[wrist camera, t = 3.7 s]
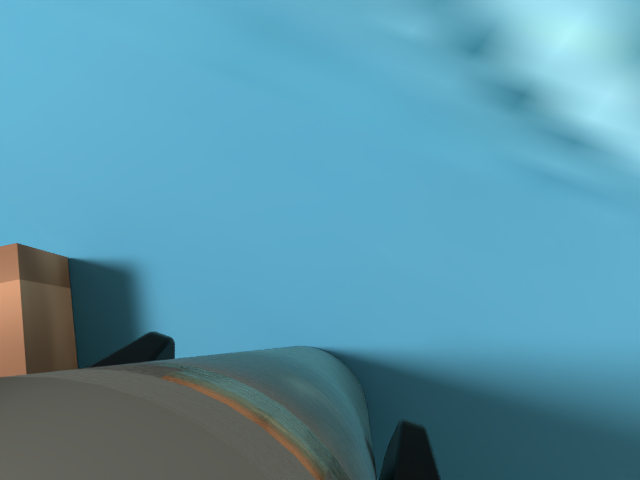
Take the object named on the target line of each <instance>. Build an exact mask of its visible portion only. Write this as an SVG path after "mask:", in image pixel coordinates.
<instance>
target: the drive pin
mask: <svg viewBox="0 0 640 480" xmlns="http://www.w3.org/2000/svg"><path fill="white" fill-rule="evenodd" d="M0 480H377V476H376V469H375V461H374V454H373V446H372V439H371V432H370V424H369V417H368V409H367V403H366V399H365V395H364V392H363V390H362V388H361V385H360V383H359V382H358V380H357V378H356V377H355V375H354V374H353V373H352V371H351V370H350V369H349V368H348V367H347V366H346V365H345V364H344V363H343V362H342V361H340V360H339V359H338V358H336V357H335V356H333V355H331V354H330V353H328V352H325V351H323V350H320V349H317V348H313V347H306V346H293V347H283V348H274V349H264V350H255V351H245V352H236V353H226V354H217V355H207V356H197V357H188V358H178V359H169V360H159V361H150V362H140V363H131V364H121V365H111V366H102V367H92V368H83V369H73V370H64V371H54V372H45V373H35V374H26V375H16V376H6V377H0Z"/></svg>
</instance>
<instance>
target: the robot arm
mask: <svg viewBox="0 0 640 480" xmlns="http://www.w3.org/2000/svg"><path fill="white" fill-rule="evenodd" d="M169 359H175V343H174V340H173V338H171V337H169V336H166V335H163V334H160V333H157V332H150V333H147V334H145V335H143V336H142V337H140V338H138V339H136V340H134V341H133V342H131V343H129V344H127V345H125V346H124V347H122V348H120V349H118V350H116V351H115V352H113V353H111V354H109V355H107V356H106V357H104V358H102V359H100V360H98V361H97V362H95V363H93V364H91V365H89V366H88V367H86V368H92V367H102V366H111V365H121V364H131V363H140V362H150V361H159V360H169ZM379 480H441V479H440V475H439V472H438V468H437V465H436V461H435V458H434V454H433V451H432V448H431V444H430V441H429V437H428V434H427V431H426V429H425V427H424V426H423V425H421V424H418V423H415V422H412V421H409V420H406V419H401V420H400V421H399V423H398V425H397V427H396V429H395V432H394V434H393V436H392V439H391V441H390V443H389V445H388V448H387V451H386V454H385V458H384V462H383V466H382V470H381V474H380V478H379Z"/></svg>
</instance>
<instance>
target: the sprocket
mask: <svg viewBox="0 0 640 480" xmlns="http://www.w3.org/2000/svg"><path fill="white" fill-rule="evenodd" d="M73 369H78V365H77V354H76V343H75V332H74V321H73V310H72V299H71V288H70V277H69V267H68V257H64V256H61V255H57V254H53V253H50V252H46V251H43V250H39V249H36V248H32V247H29V246H25V245H21V244H18V243H16V244H11V245H6V246H1V247H0V377H6V376H16V375H26V374H35V373H45V372H54V371H64V370H73Z"/></svg>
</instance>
